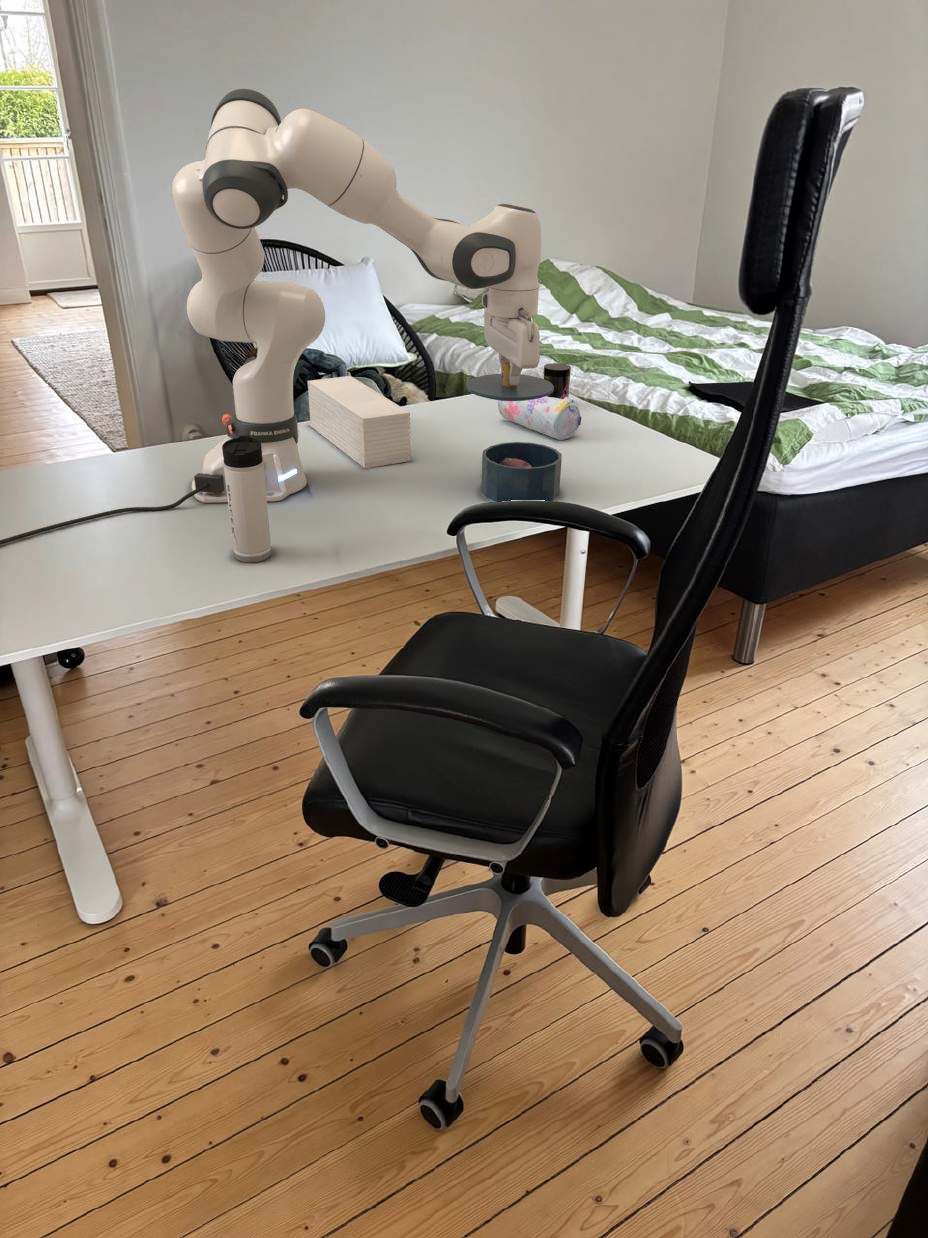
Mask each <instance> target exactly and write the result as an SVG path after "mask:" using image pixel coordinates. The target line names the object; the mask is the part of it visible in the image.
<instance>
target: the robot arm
mask: <svg viewBox="0 0 928 1238" xmlns="http://www.w3.org/2000/svg"><path fill="white" fill-rule="evenodd" d="M213 112H214V113H213V114H212V118H211V123H210V129H209V132H208V138H207V141H206V146H205V157H204V159H202V160H197V161H193V162H190V163H188V164H186V165H184V166H183V167H182V168H180V169H179V170H178V172H177V173H176V174H175V175H174V178H173V181H172V184H171V193H172V194H171V195H172V198H173V203H174V208H175V211H176V213H177V217H178V220H179V223H180V226H181V228H182V231H183V233H184V236H185V237H186V240H187V242H188V245H189V246H190V249H191V251H192V252H193V255H194V257H195V259H196V262H197V264H198V266H199V269H200V272H201V279H200V280H199V281H198V282H196V283H195V284H194V285H193V287H192V288H191V290H190V291H189V293H188V296H187V298H186V299H187V301H186V314H187V317H188V320H189V322H190V325H191V326H192V328H193V329H194V331H195V332H196V333H197V334H199V335H201V336H204V337H208V338H211V339H214V340H217V341H221V342H231V343H245V344H246V343H247V344H256V347H257V355H256V358H255V359H253V360H250V361H248V362H246V363H245V364H243V365H242V366H240V367H239V368H238V369H237V370H236V372H234V373H235V374H234V375H233V379H232V389H233V390H232V391H233V400H234V401H233V402H234V411H235V414H234V415H233V416H232V415H231V414H230V413H225V414H223V416H222V417H221V418H222V419H221V420H222V424H223V425H224V426H225V430H226V436H225V437H224V438H223V439H221V441H219V442H218V443H216V445H215V446H214V447H212V448H211V449H210V450H208V451H207V452H206V453H205V455H204V457H203V461H202V464H201V465H202V466H201V473H200V472H198V473H196V474H195V475H194V476H193V480H192V482H191V491H190V492H188V493H187V494H185V495H184V496H182V497H181V498H180V499H178V500H177V501H176V502H173V503H170V504H167V505H161V506H132V507H131V506H130V507H123V508H117V509H112V510H107V511H103V512H98V513H95V514H91V515H87V516H82V517H77V518H74V519H71V520H67V521H63V522H59V523H55V524H51V525H48V526H44V527H40V528H36V529H33V530H30V531H26V532H22V533H19V534H16V535H12V536H9V537H5V538H2V539H0V546H1V545H4V544H8V543H11V542H14V541H18V540H21V539H24V538H27V537H31V536H34V535H38V534H41V533H42V534H43V533H45V532H48V531H52V530H56V529H59V528H63V527H67V526H71V525H75V524H79V523H83V522H89V521H91V520H95V519H99V518H103V517H108V516H113V515H118V514H123V513H129V512H130V513H131V512H161V511H167V510H170V509H174V508H176V507H178V506H180V505H181V504H183V503H185V502H186V500H189V498H191V497H194V498H195V499H196V500H197V501H199V502H201V503H205V504H211V503H212V504H214V503H217V504H219V503H228V498H227V489H226V481H225V472H224V460H223V459H224V458H223V451H222V445H223V444H224V443H225V442H226V441H228V440H230V439H233V438H239V435H250V438H254V439H257V440H259V441H260V442H261V447H262V458H263V465H264V475H265V486H266V497H267V502H280V501H282V500H284V499H286V498H287V497H289V496H290V495H292V494H296V493H297V492H299V491H301V490H303V489H304V488H305V487H306V486H307V484H308V480H307V477H306V474H305V471H304V469H303V465H302V461H301V456H300V452H299V446H298V443H299V424H298V418H297V414H296V412H295V410H294V409H295V407H294V374H295V369H296V366H297V364H298V361H299V359H300V357H301V355H302V354H303V353H304V351H305V350H306V349H308V347H309V346H311V345H312V344H313V343H315V342H316V340H318V338H319V337H320V336H321V334H322V332H323V330H324V327H325V323H326V310H325V306H324V303H323V300H322V299H321V298H322V297H320V295H319V294H318V292H317V291H316V290H315V289H313V288H310V287H307V286H304V285H300V284H297V283H293V282H287V281H271V280H269V281H268V280H267V281H266V280H265V281H264V280H256V278H257V277H258V276H259V274H260V273H261V272H262V269H263V267H264V263H265V251H264V248H263V244H262V242H261V240H260V237H259V234H258V232H257V229H256V227H258V226H260V225H261V224H263V223H265V222H266V221H267V220H268V219H269V218H270V217H271V215H272V214H273V213H274V212H275V211H276V210H278V209H280V208H282V207H283V206H285V204H287V202H288V200H289V189H297V190H301V191H303V192H305V193H307V194H309V195H310V196H312V197H313V198H315V199H316V200H318V201H319V202H320V203H322V204H324V205H325V206H327V207H328V208H330V209H331V210H333V211H334V212H337V213H339V214H340V215H342V216H344V217H346V218H349V219H351V220H353V221H356V222H357V223H361V224H365V225H373V226H376V227H378V228H379V229H381V230H383V231H384V232H385V233H387V234H388V235H390V236H392V237H393V238H394V239H396V240H397V241H399V242H400V243H401V244H403V245H404V246H406V247H407V248H409V249H410V251H412V253H413V254H414V256H415V257H416V259H417V260H418V262H419V264H420V266H421V267H422V268H423V270H424V271H425V272H426V273H427V274H428V275H429V276H430V277H432V278H434V279H437V280H439V281H444V282H448V283H451V284H454V285H457V286H460V287H462V288H464V289H469V290H479V289H484V288H488V291H486V292H484V293H483V294H482V296H481V305H482V307H484V311H483V325H484V326H483V327H484V330H483V331H484V339H485V342H486V344H487V346H488V347H490V348H491V349H492V350H494V351H495V352H497V353H498V362H499V366H500V374H501V377H502V378H503V373H504V363H505V362H510V366H511V369H510V374H508V382H509V383H510V384H511V385H518V384H519V382H520V374H521V375H522V371H523V370H527V369H529V370H530V369H536V368H538V366H539V364H540V355H541V353H540V352H541V351H540V350H541V346H540V345H541V344H540V343H541V337H540V335H541V334H540V327H539V324H537V323H536V322H535V321H534V317H536V316H537V315H538V309H539V293H540V283H539V277H538V271H539V267H540V265H541V257H542V230H541V221H540V216H539V215H538V213H536V212H535V211H534V210H533V209H531V208H528V207H524V206H523V207H522V206H518V205H513V204H508V203H500V204H497V205H496V206H495V207H494V209H493V210H492V211H491V212H490V213H488V214H487V215H486V216H484V217H483V218H482V219H480V220H478V221H476V222H475V223H471V224H469V225H466V224H463V223H460V222H457V221H454V220H451V219H446V218H436V217H433V216H430V215H429V214H428V213H426V212H425V211H424V210H423V209H421V208H420V207H418V206H417V205H416V204H414V203H413V202H412V201H410V200H409V199H407V197H405V196H403V195H402V194H401V193H400V192H399V191H398V190H397V175H396V174H397V173H396V170H395V168H394V165H392V164H391V162H390V161H388V159H387V158H386V157H385V156H384V155H383V154H382V153H381V152H380V151H379V150H378V149H376V147H374V146H373V145H372V144H371V143H369V142H368V141H367V140H366V139H364V138H363V137H362V136H359V135H358V134H356V133H355V132H353V131H352V130H351V129H349V128H347V127H345V125H342V124H340V123H339V122H337V121H335V120H333V119H331V118H329V117H327V116H325V115H323V114H321V113H319V112H316V111H314V110H311V109H309V108H298V109H295V110H293V111H291V112H289V113H288V114H287V115H286V116H284V118H283V119H281V116H280V113H279V110H278V109H277V107H276V105H275V104H274V103H273V102H272V101H271V100H270V98H268V97H267V96H266V95H265V94H263V93H261V92H259V91H256V90H253V89H250V88H238V89H234V90H231V91H229V92H228V93H226V94H225V95H224V96H223V97H222V98H221V99H220V101H219V103H218V104H217V106H216V108H215V110H214V111H213Z"/></svg>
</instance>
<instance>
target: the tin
mask: <svg viewBox="0 0 928 1238" xmlns="http://www.w3.org/2000/svg"><path fill="white" fill-rule="evenodd" d="M562 456H563V454H562V453H561V452H560V451H559V450H557V449H556V448H555V447H551V446H549V445H546V444H541V443H535V442H528V441H527V442H525V441H512V442H501V443H497V444H494V445H489V446H488V447H486V448H485V449H483V450H482V454H481V483H480V484H481V485H480V486H481V487H480V491H481V493H482V494H483V496H484V497H485V498H487V499H489V500H492V501H493V502H496V503H499V502H502V501H511V500H545V501H550V502H553V501H555V500H556V499H557V498H559V496H560V489H561V488H560V487H561V475H562V461H563V460H562V458H563V457H562ZM505 458H512V459H520V460H523V461H525V462H527V463H529V464H530V465H531V466H532V467H531V468H524V467H511V466H506V465H501V464H499V463H500V462H501V461H503V460H504V459H505Z"/></svg>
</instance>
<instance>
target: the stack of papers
mask: <svg viewBox="0 0 928 1238" xmlns="http://www.w3.org/2000/svg"><path fill="white" fill-rule="evenodd" d="M307 389H308V390H307V393H308V394H307V395H308V409H309V411H308V412H309V426H310V427H311V428H312V429H314V431H316V432H317V433H318V434H320V435H321V436H323V437H324V438H325V439H326V440H327V441H329V442H331V444H333V445H334V446H335V447H337V448H338V449H339V450H340V451H342V452H343V453H344V454H346V455H347V456H348V457H349V458H350V459H352V460H353V461H355V462H356V463H357V464H358V465H360V466H361V467H362V468H364V469H371V468H377V467H382V466H383V467H384V466H388V465H389V466H390V465H395V464H400V463H407V462H411V422H410V421H411V412H410V411H408V410H407V409H405V408H404V407H402V406H401V405H399V404H397V403H395V402H394V401H392V400H391V399H389V398H387V397H386V396H384V395H382V394H381V393H379V392H378V391H376V390H374V389H372V388H371V387H369V386H368V385H366V384H365V383H363V382H361V381H360V380H358V379H356V378H355V377H353V376H351V375H347V376H346V375H345V376H338V377H329V378H320V379H313V380H312V379H311V380H307Z"/></svg>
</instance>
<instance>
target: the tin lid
mask: <svg viewBox="0 0 928 1238" xmlns="http://www.w3.org/2000/svg"><path fill="white" fill-rule="evenodd" d="M510 369H511V366H510V362H505V363H504V373H503V378H502V377H501V373H491V374H484V375H479V376H476V377H472V378H470V379H469V380H468V381H467V382H466V386H465V387H466V390H467V392H468V393H471V394H472V395H475V396H476V397H481V398H483V399H488V400H493V401H498V400H500V401H526V400H532V399H538V398H542V397H545V396H548V395H550V394H551V393H552V392H553V390H554V386H553V384H552V383H551V382H549V381H547V380H545V379H543V378H542V377H538V376H534V375H527V374H522V373H521V374H520V382H519V384H518V385H511V384H510V383H509V382H508V374H510Z"/></svg>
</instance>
